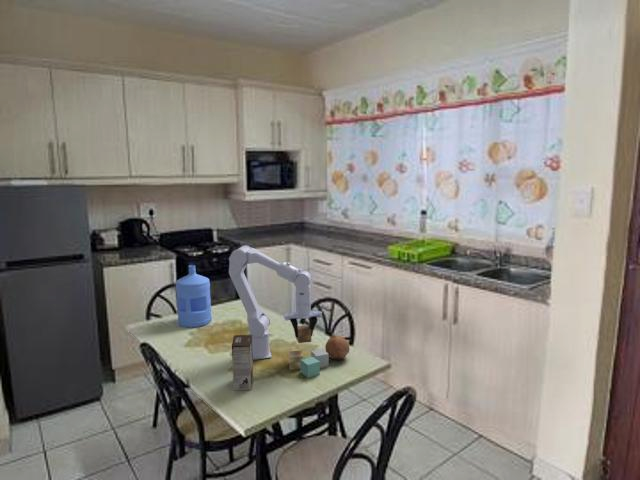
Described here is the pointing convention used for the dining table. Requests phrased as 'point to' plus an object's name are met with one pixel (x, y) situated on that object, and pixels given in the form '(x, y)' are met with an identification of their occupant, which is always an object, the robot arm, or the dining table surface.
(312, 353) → the grey cube
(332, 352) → the onion
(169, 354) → the dining table surface
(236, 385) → the coffee box
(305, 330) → the walnut cube
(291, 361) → the maple cube
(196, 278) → the water jug
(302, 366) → the teal cube
